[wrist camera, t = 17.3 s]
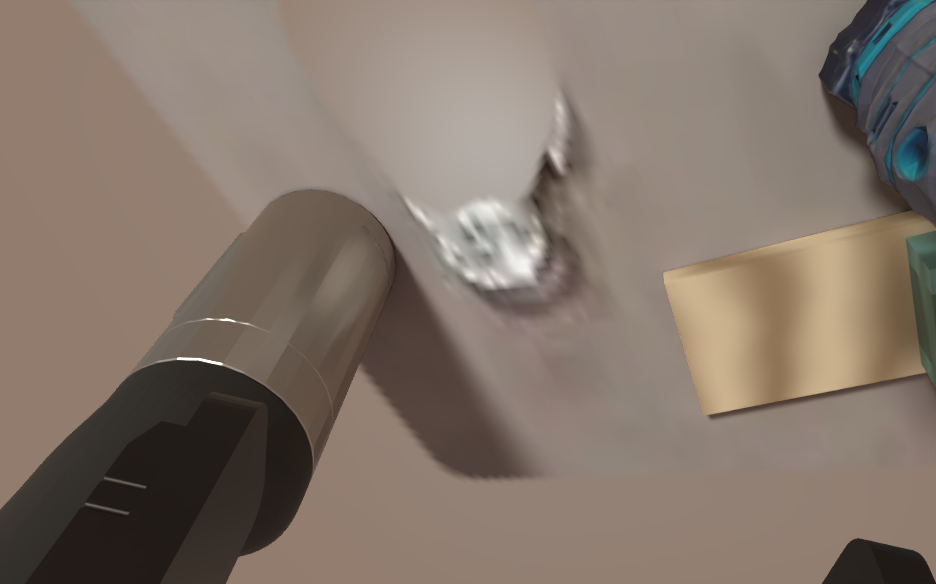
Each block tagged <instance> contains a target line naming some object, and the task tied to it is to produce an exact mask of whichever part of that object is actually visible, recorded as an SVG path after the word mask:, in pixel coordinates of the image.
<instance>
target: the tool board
mask: <svg viewBox="0 0 936 584" xmlns="http://www.w3.org/2000/svg"><path fill="white" fill-rule="evenodd" d="M663 276H664V283H665V287H666V291H667V294H668V297H669V301H670V304H671V308H672V311H673V314H674V318H675V321H676V325H677V328H678V331H679V335H680V338H681V342H682V345H683V348H684V352H685V355H686V359H687V362H688V365H689V369H690V372H691V376H692V379H693V382H694V386H695V389H696V393H697V396H698V400H699V403H700V406H701V410H702V413H703V416H705V415H710V414H715V413H720V412H725V411H731V410H736V409H741V408H746V407H751V406H756V405H761V404H767V403H772V402H777V401H782V400H787V399H792V398H798V397H803V396H808V395H813V394H818V393H823V392H828V391H834V390H839V389H844V388H849V387H854V386H859V385H865V384H870V383H875V382H880V381H885V380H890V379H895V378H901V377H906V376H911V375H916V374H921V373H926V372H927V374H928V376H929V377H930V379H931V381H932V382H933V384H934V386H935V387H936V227H934V226H933V225H932V224H931V223H930V222H929V221H928V220H927V219H925V218H924V217H923V216H922V215H920V214H918V213H916V212H915V211H913V210H910V211H906V212H902V213H898V214H894V215H890V216H886V217H882V218H878V219H874V220H870V221H866V222H862V223H858V224H854V225H850V226H846V227H842V228H838V229H834V230H830V231H826V232H822V233H818V234H814V235H810V236H806V237H802V238H798V239H794V240H790V241H786V242H782V243H778V244H774V245H770V246H766V247H762V248H758V249H754V250H750V251H746V252H742V253H738V254H734V255H730V256H726V257H722V258H718V259H714V260H710V261H706V262H702V263H698V264H694V265H690V266H686V267H682V268H678V269H674V270H670V271H666V272H663Z"/></svg>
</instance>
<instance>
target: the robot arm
mask: <svg viewBox="0 0 936 584" xmlns="http://www.w3.org/2000/svg"><path fill="white" fill-rule="evenodd" d="M395 267H396V265H395V256H394V251H393V248H392V245H391V242H390V239H389V237H388V236H387V234H386V232H385V231H384V229H383V227H382V225H381V224H380V223H379V222H378V221H377V220H376V219H375V218H374V217H373V215H372V214H371V213H369V212H368V211H367V210H366V209H364V208H363V207H362V206H360V205H359V204H358V203H356V202H354V201H352V200H350V199H348V198H346V197H344V196H342V195H338V194H335V193H331V192H328V191H320V190H303V191H295V192H292V193H289V194H286V195H283V196H281V197H279V198H278V199H276V200H275V201H273V202H271V203H270V204H269V205H268V206H267V207H266V208H265V209H264V210H263V211H262V212H261V214H260V215H259V216H258V217H257V218H256V220H255V221H254V222H253V223H252V225H251V226H250V227H249V228H248V229H247V231H246V232H244V233H241V234H239V235H238V237H237V238H236V239H235V240H234V241H233V242H232V244H231V245H230V246H229V247H228V248H227V250H226V251H225V252H224V253H223V255H222V256H221V257H220V258H219V259H218V261H217V262H216V263H215V264H214V266H213V267H212V268H211V269H210V270H209V271H208V273H207V274H206V275H205V276H204V278H203V279H202V280H201V281H200V282H199V284H198V285H197V286H196V287H195V288H194V289H193V291H192V292H191V293H190V294H189V296H188V297H187V298H186V299H185V300H184V302H183V303H182V304H181V305H180V307H179V308H178V309H177V310H176V311H175V313H174V316H173V321H172V322H171V323H170V325H169V326H168V327H167V328H166V329H165V331H164V332H163V333H162V334H161V336H160V337H159V338H158V339H157V341H156V342H155V343H154V345H153V346H152V347H151V348H150V350H149V351H148V352H147V353H146V354H145V356H144V357H143V358H142V359H141V360H140V362H139V363H138V364H137V366H136V367H135V368H134V369H133V370H132V372H131V373H130V374H129V375H128V377H127V378H126V379H125V380H124V381H123V382H122V383H121V384H120V386H119V387H118V388H117V389H116V391H115V392H114V393H113V394H112V395H111V397H110V398H109V399H108V400H107V401H106V402H105V403H104V404H103V405H102V406H101V407H100V408H99V409H98V410H96V411H95V412H94V413H93V414H92V415H91V416H90V417H89V418H88V419H87V420H85V421H84V422H83V423H82V424H81V425H80V426H79V427H78V428H77V429H76V430H74V431H73V432H72V433H71V434H70V435H69V436H68V437H67V438H66V439H65V440H64V441H63V442H62V443H61V444H60V445H59V446H58V447H57V448H56V449H55V450H54V451H53V452H52V453H51V454H50V455H49V456H48V457H47V458H46V459H45V461H44V462H43V463H42V464H41V465H40V466H39V467H38V468H37V470H36V471H35V472H34V473H33V474H32V475H31V477H30V478H29V479H28V480H27V481H26V482H25V483H24V484H23V486H22V487H21V488H20V489H19V490H18V491H17V492H16V493H15V494H14V495H13V497H12V498H11V499H10V500H9V501H8V502H7V503H6V504H5V505H4V506H3V507H2V508H1V510H0V584H226V582H227V580H228V577H229V575H230V573H231V571H232V569H233V567H234V565H235V563H236V561H237V558H238V557H240V556H244V555H247V554H251V553H253V552H256V551H259V550H261V549H262V548H264V547H266V546H268V545H269V544H271V543H272V542H274V541H275V540H276V539H277V538H278V537H279V536H281V535H282V534H283V532H284V531H285V530H286V529H287V528H288V526H289V525H290V523H291V522H292V520H293V518H294V517H295V515H296V513H297V511H298V508H299V506H300V504H301V502H302V500H303V497H304V495H305V493H306V490H307V488H308V485H309V483H310V480H311V478H312V476H313V474H314V471H315V469H316V466H317V464H318V461H319V459H320V457H321V454H322V452H323V450H324V447H325V445H326V442H327V440H328V438H329V435H330V432H331V430H332V428H333V425H334V423H335V420H336V418H337V416H338V413H339V411H340V408H341V406H342V404H343V401H344V399H345V396H346V394H347V392H348V389H349V387H350V384H351V381H352V380H353V377H354V374H355V372H356V370H357V368H358V365H359V363H360V360H361V358H362V356H363V353H364V351H365V349H366V346H367V344H368V341H369V339H370V337H371V334H372V332H373V329H374V327H375V325H376V322H377V320H378V318H379V315H380V313H381V310H382V308H383V305H384V303H385V300H386V298H387V295H388V293H389V290H390V288H391V285H392V283H393V280H394V275H395ZM822 584H936V582H935V580H934V578H933V576H932V573H931V571H930V569H929V567H928V565H927V563H926V561H925V559H924V558H923V557H922V556H921V555H920V554H919V553H918V552H915V551H913V550H909V549H904V548H900V547H895V546H891V545H887V544H882V543H877V542H873V541H869V540H864V539H859V538H858V539H854V540H852V541H851V542H850V543H848V544H847V546H846V547H845V549H844V550H843V552H842V553H841V555H840V556H839V558H838V560H837V561H836V563H835V564H834V566H833V567H832V569H831V570H830V572H829V574H828V575H827V577H826V578H825V580H824V581H823V583H822Z"/></svg>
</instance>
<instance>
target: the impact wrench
mask: <svg viewBox="0 0 936 584" xmlns="http://www.w3.org/2000/svg"><path fill="white" fill-rule="evenodd" d="M819 78H820V80H821V82H822V83H823V85H824V87H825V88H826V90H827V92H829V93H830V94H832V95H833V96H835V97H837V98H838V99H840V100H841V101H843V102H844V103H846V104H847V105H849V106H850V107H852V108H853V109H855V110H856V111H857V115H856V122H855V124H854V125H855V126H857V127H858V128H859V129H860V130H861V131H862V132H863V133H864V134H865V135H866V136H867V139H868V140H867V146H868V147H869V149H870V152H871V154H872V157H873V159H874V163H875V166H876V170H877V173H878V176H879V178H880V180H881V181H882V182H883V183H885V184H887V185H888V186H890V187H891V188H893V189H895V190H896V191H898V192H899V193H900V194H901V195H902V197H903V198H904V199H905V200H906V201H907V203H908V204H909V205H910V207H911V208H912V210H913V211H915V212H916V213H918V214H920V215H922V216H923V217H924V218H925V219H927V220H928V221H929V222H930V223H931V224H932V225H933V226H934V227H936V0H867V2H866V4H865V5H864V6H863V7H862V8H861V10H860V11H859V12H858V13H857V14H856V16H855V18H854V20H853V21H852V23H851V24H850V25H849V26H848V27H846V28H845V29H844V30H843V31H841V32H840V33H839V34H838V36H837V38H836V40H835V41H834V42H833V43H832V44H831V45H830V47H829V53H828V55H827V58H826V61H825V63H824V66H823V68H822V70H821V72H820V73H819Z"/></svg>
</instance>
